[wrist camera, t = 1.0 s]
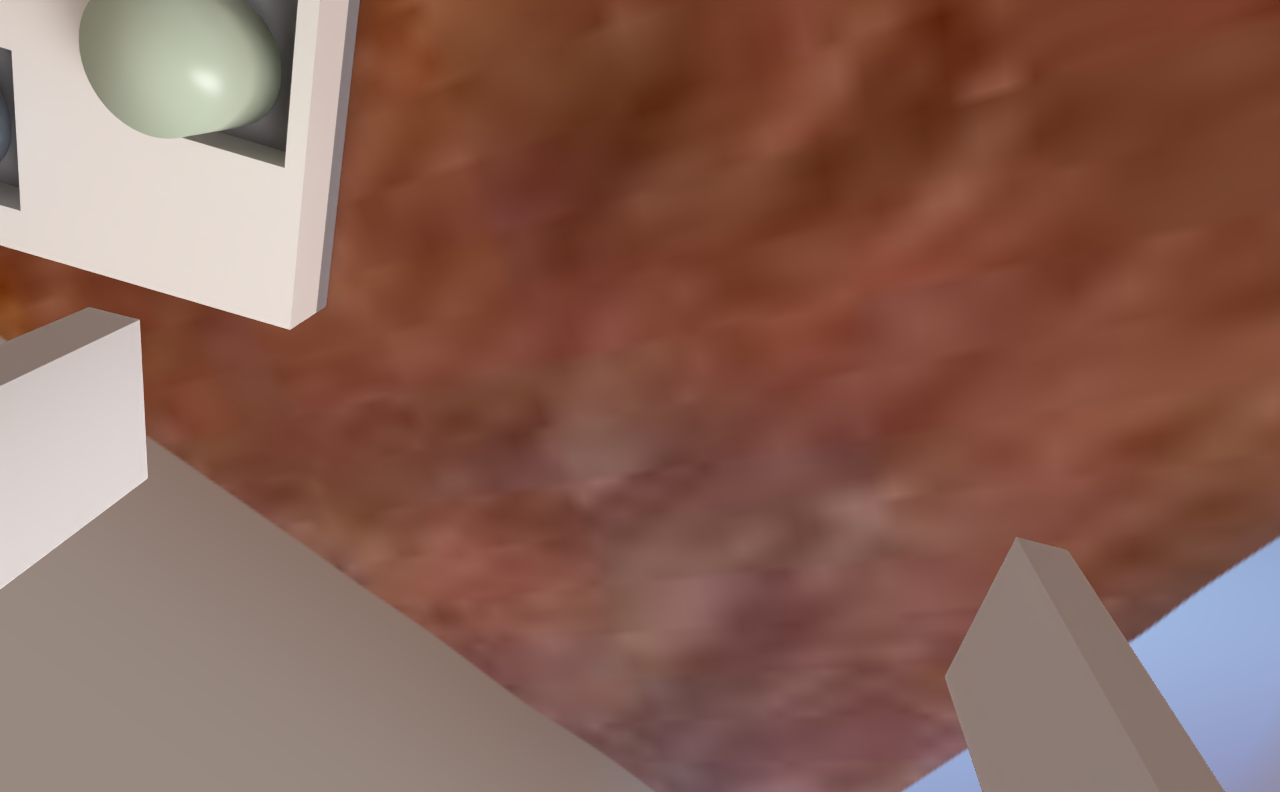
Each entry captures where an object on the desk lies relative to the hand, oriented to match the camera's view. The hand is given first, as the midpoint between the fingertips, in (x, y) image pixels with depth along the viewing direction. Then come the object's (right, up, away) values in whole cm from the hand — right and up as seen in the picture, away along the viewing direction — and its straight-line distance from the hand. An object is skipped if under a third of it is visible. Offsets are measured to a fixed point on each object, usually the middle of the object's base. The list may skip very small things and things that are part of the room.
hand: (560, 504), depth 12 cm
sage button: (-15, +15, +19) cm, 28 cm away
